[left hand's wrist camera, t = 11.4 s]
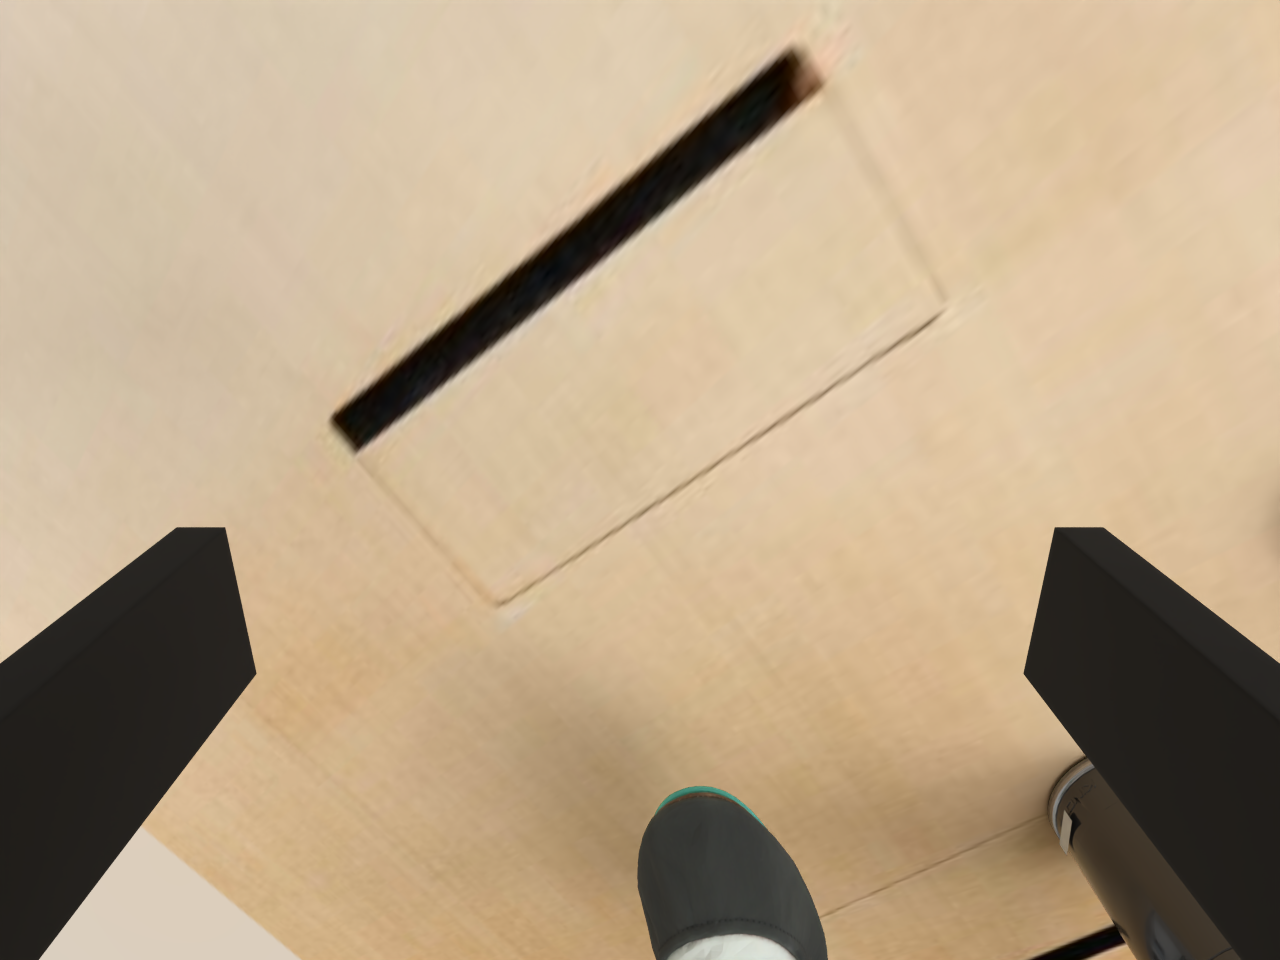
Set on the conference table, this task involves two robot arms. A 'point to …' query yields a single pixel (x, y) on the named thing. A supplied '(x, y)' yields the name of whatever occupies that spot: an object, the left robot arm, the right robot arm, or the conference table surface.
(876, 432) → the conference table surface
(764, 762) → the conference table surface
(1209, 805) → the left robot arm
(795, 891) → the ballet flat
